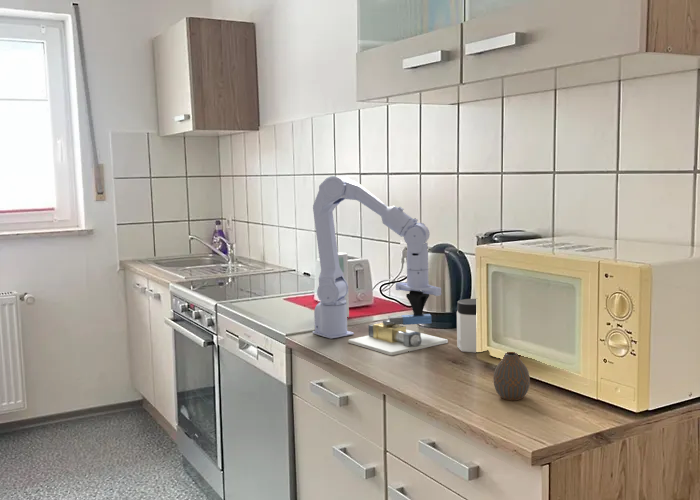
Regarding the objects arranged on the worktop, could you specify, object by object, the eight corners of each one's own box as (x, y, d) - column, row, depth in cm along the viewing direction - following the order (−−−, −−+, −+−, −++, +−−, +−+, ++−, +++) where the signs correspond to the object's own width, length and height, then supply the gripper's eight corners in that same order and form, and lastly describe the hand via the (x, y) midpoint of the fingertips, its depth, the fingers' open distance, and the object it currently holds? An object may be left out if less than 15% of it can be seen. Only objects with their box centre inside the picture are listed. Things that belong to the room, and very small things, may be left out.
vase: (507, 405, 131) (507, 359, 130) (486, 395, 137) (486, 351, 136) (537, 399, 134) (537, 355, 133) (515, 389, 140) (515, 347, 139)
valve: (366, 335, 187) (366, 322, 187) (380, 333, 190) (379, 319, 190) (410, 348, 173) (409, 333, 172) (424, 344, 176) (424, 330, 175)
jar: (472, 355, 168) (472, 306, 166) (450, 348, 174) (449, 301, 173) (499, 348, 172) (498, 301, 171) (476, 342, 179) (475, 297, 178)
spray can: (352, 315, 219) (350, 252, 217) (344, 319, 213) (342, 255, 211) (333, 314, 222) (331, 252, 219) (325, 318, 216) (323, 254, 213)
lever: (383, 326, 181) (383, 318, 181) (382, 323, 184) (381, 315, 184) (431, 323, 182) (431, 316, 182) (429, 320, 185) (429, 313, 185)
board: (348, 342, 184) (348, 339, 184) (402, 331, 195) (402, 328, 195) (391, 355, 169) (391, 352, 169) (447, 342, 180) (447, 339, 180)
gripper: (387, 268, 187) (388, 317, 188) (428, 273, 176) (429, 325, 178) (405, 265, 192) (406, 313, 193) (446, 270, 181) (446, 321, 183)
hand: (418, 319), depth 186 cm, fingers closed, pressing on lever
